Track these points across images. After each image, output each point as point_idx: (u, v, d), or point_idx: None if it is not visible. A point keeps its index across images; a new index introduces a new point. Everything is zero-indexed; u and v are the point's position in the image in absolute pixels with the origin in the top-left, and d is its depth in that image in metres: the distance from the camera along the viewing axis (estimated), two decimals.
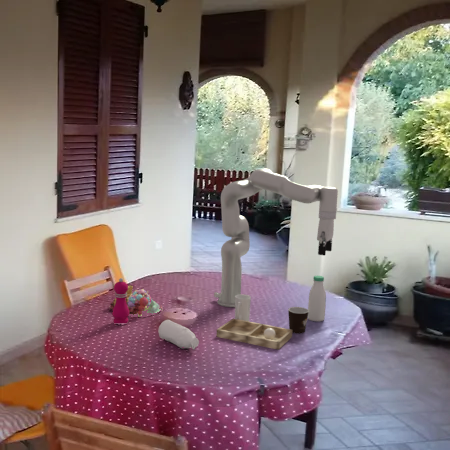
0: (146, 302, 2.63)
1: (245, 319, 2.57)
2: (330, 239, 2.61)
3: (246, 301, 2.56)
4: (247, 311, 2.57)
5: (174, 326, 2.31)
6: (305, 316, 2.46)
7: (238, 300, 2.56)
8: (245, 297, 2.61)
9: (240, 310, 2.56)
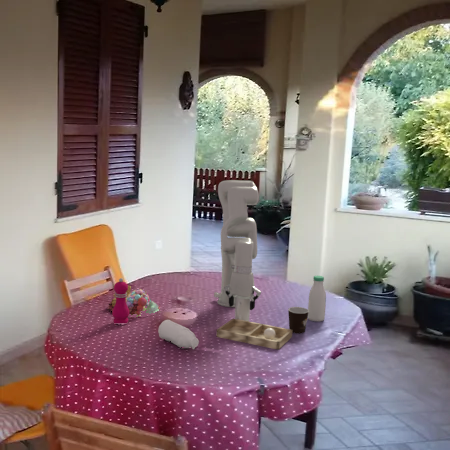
0: (144, 302, 2.63)
1: (245, 319, 2.57)
2: None
3: (246, 301, 2.56)
4: (247, 311, 2.57)
5: (174, 326, 2.31)
6: (305, 316, 2.46)
7: (238, 300, 2.56)
8: (245, 297, 2.61)
9: (240, 310, 2.56)
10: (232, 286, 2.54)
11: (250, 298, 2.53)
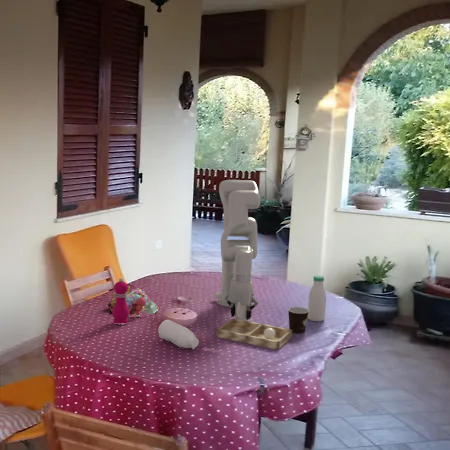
0: (144, 302, 2.62)
1: (245, 319, 2.57)
2: None
3: None
4: None
5: (174, 326, 2.31)
6: (305, 316, 2.46)
7: None
8: None
9: (240, 310, 2.56)
10: (231, 295, 2.56)
11: (247, 307, 2.55)
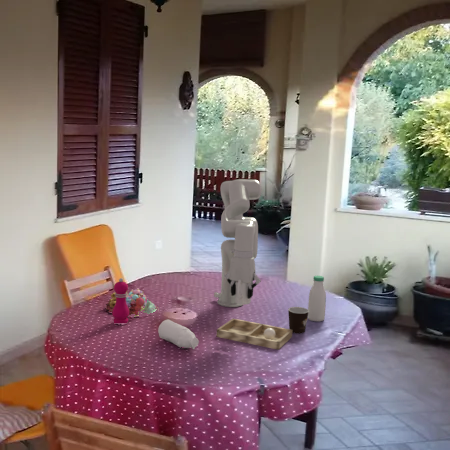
0: (142, 302, 2.62)
1: (246, 298, 2.41)
2: None
3: None
4: None
5: (174, 326, 2.31)
6: (305, 316, 2.46)
7: None
8: None
9: (241, 288, 2.40)
10: (231, 272, 2.39)
11: (248, 285, 2.38)
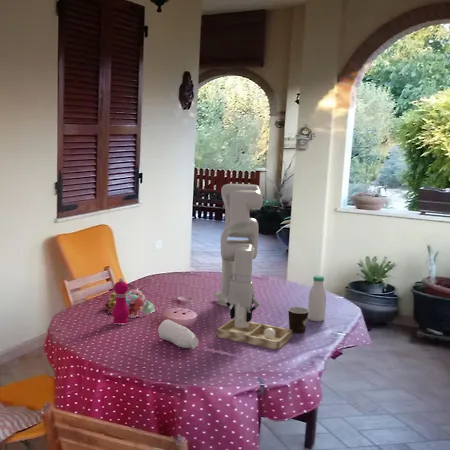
0: (142, 302, 2.62)
1: (245, 321, 2.42)
2: None
3: None
4: None
5: (174, 326, 2.31)
6: (305, 316, 2.46)
7: None
8: None
9: (240, 312, 2.41)
10: (230, 296, 2.41)
11: (247, 309, 2.40)
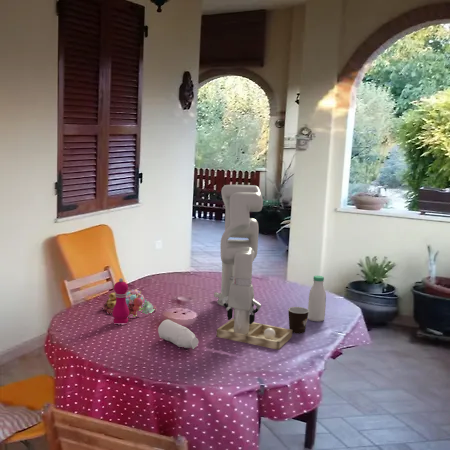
0: (141, 302, 2.62)
1: (245, 328, 2.43)
2: None
3: None
4: (247, 320, 2.43)
5: (174, 326, 2.31)
6: (305, 316, 2.46)
7: None
8: None
9: (239, 319, 2.42)
10: (230, 299, 2.41)
11: (250, 311, 2.40)
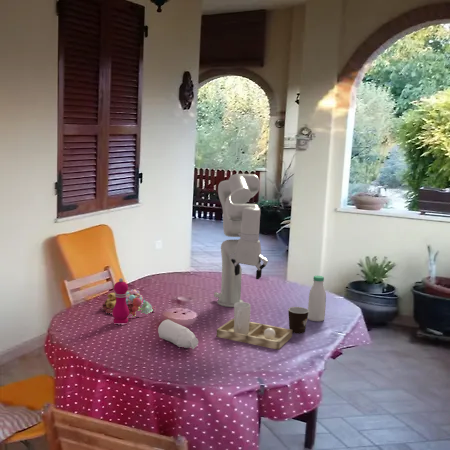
0: (140, 302, 2.62)
1: (245, 328, 2.43)
2: None
3: (246, 309, 2.42)
4: (247, 320, 2.43)
5: (174, 326, 2.31)
6: (305, 316, 2.46)
7: (237, 308, 2.42)
8: (244, 305, 2.47)
9: (240, 319, 2.42)
10: (238, 255, 2.45)
11: None
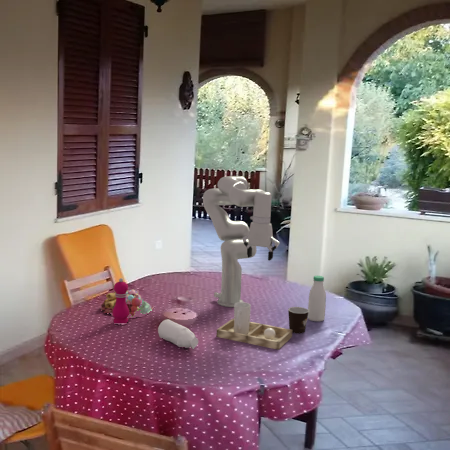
0: (139, 302, 2.62)
1: (245, 328, 2.43)
2: None
3: (246, 309, 2.42)
4: (247, 320, 2.43)
5: (174, 326, 2.31)
6: (305, 316, 2.46)
7: (237, 308, 2.42)
8: (244, 305, 2.47)
9: (240, 319, 2.42)
10: (250, 237, 2.58)
11: (268, 248, 2.56)
